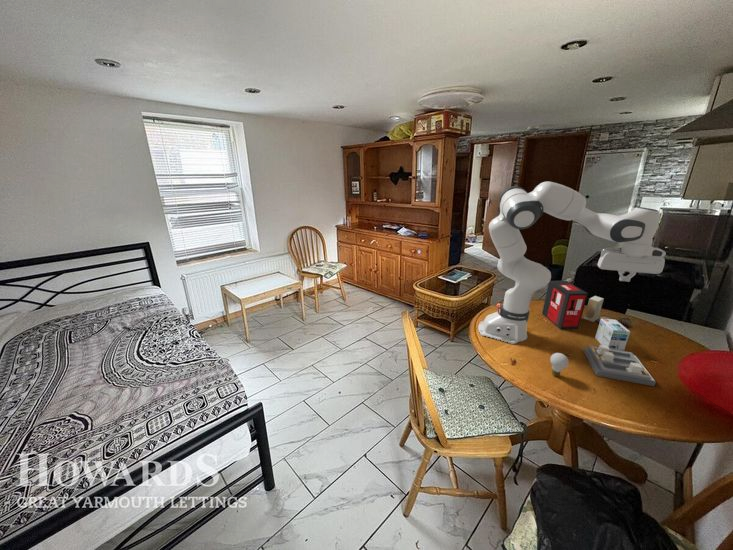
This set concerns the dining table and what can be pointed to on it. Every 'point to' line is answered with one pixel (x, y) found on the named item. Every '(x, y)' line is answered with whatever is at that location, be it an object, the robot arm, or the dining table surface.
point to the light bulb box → (612, 334)
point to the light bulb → (558, 363)
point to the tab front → (634, 368)
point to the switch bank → (618, 366)
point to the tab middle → (607, 356)
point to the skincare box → (593, 308)
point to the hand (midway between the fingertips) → (624, 280)
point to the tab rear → (602, 349)
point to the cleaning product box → (564, 304)
